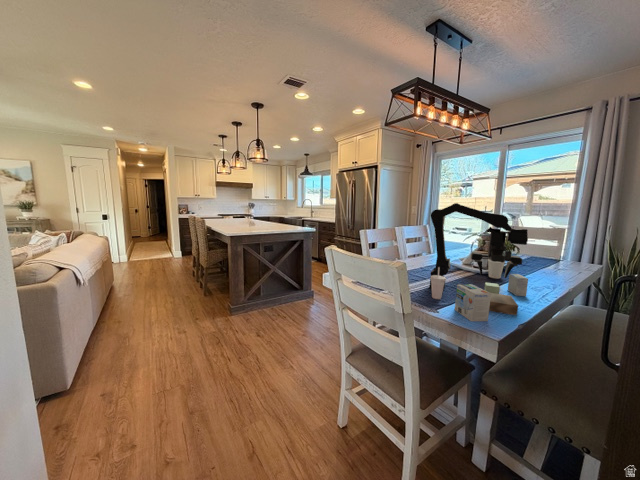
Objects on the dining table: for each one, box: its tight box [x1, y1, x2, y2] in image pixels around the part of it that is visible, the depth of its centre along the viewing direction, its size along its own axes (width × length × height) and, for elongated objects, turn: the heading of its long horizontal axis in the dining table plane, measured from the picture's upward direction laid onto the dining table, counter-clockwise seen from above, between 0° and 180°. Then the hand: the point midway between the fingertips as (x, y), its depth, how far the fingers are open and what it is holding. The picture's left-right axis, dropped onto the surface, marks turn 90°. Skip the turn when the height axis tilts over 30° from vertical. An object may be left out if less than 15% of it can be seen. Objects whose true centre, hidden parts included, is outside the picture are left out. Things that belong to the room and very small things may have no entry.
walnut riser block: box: [489, 293, 519, 316], centre depth 107 cm, size 12×12×4 cm
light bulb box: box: [454, 283, 491, 322], centre depth 98 cm, size 11×7×11 cm, turn 5°
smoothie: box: [430, 267, 447, 300], centre depth 116 cm, size 6×6×14 cm
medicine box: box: [507, 273, 529, 297], centre depth 124 cm, size 8×4×9 cm, turn 168°
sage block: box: [483, 282, 501, 294], centre depth 119 cm, size 5×5×6 cm
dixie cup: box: [487, 259, 506, 280], centre depth 151 cm, size 8×8×10 cm
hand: (492, 276), depth 118 cm, fingers open, 9 cm apart
